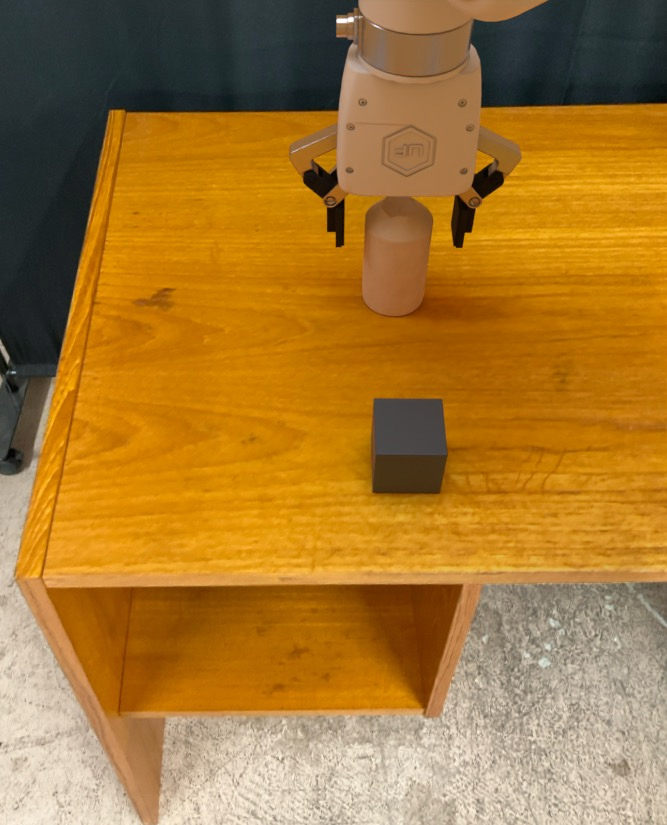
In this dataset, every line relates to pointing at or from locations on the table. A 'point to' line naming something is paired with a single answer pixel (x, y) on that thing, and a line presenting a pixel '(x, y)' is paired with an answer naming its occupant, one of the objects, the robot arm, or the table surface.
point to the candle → (396, 255)
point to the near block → (408, 445)
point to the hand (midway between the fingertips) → (398, 236)
